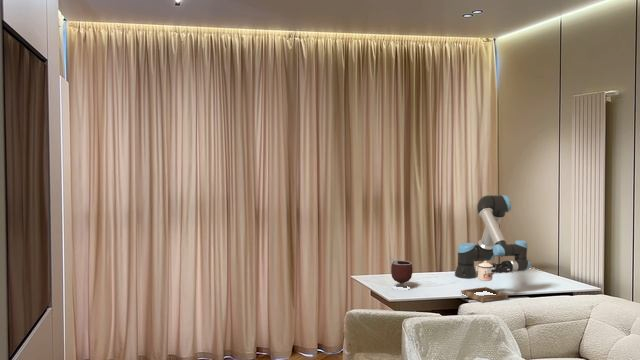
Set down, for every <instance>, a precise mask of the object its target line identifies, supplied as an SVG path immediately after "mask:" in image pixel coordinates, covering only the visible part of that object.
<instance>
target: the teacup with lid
mask: <svg viewBox="0 0 640 360" xmlns="http://www.w3.org/2000/svg"><path fill="white" fill-rule="evenodd" d="M491 264H492V263H489V262H488V261H482V262H481V263H478V264H477V266H478V270H477V280H479V281H484V282H490V281H493V275H494V274H495V273H486V269H490V268H494V267H493V265H491Z"/></svg>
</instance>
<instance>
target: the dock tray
mask: <svg viewBox="0 0 640 360" xmlns="http://www.w3.org/2000/svg"><path fill="white" fill-rule="evenodd" d="M483 291H487V292H490V293H493V294H496V295H484V296H479V295H476V294H474V293H476V292H483ZM461 293H462V294H464V295H466V296H468V297H467V298H468V299H471V300H474V301H476V302H479V303H481V304H483V303H484V304H485V303H492V302H493V303H494V302H497V301H499V302H500V301H507V300H509V294H508V293H505V292H502V291H499V290H496V289H492V288H490V287H487V286H484V287H476V288H468V289H461V291H460V294H461Z"/></svg>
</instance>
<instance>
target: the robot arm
mask: <svg viewBox="0 0 640 360" xmlns="http://www.w3.org/2000/svg"><path fill="white" fill-rule="evenodd" d="M511 210H512V202H511V199H510V197H509V196H507V195H502V194H499V195H497V194H495V195H484V196H482V197H481V198H479V200H478V202H477V205H476V211H477V214H478V216H479V217H480V218H481V219H482V222H483V223H484V225H485V226H484V227H485V228H484V229H483V233H482V236H481V238H480V239H479V240H478V242H477V244H475V243H473V242H465V243H460V244H459V245H458V246H457V266H456V269H455V271H454V276H455V277H456V278H461V279H475V278H477V271H478V265H476V266H475V262H484V261H487V262H489V261H493V260H494V258H496V257H501V258H502V257H514V259H507V260H503V261H501V263H495V262H494V263H493V262H491V263H490V264H491V265H493V267H494V268H490V269H486V273H494V274H495V273H496V274H503V273H506V274H507V273H512V274H513V273H514V272H524V271H528V270H529V269H530V268H531V266H532V265H531V261H530V260H529V259H528V242H527V241H526V240H521V239H520V240H519V239H517V240H515V241H514V243H513V244H512V243H511V244H509V243H507V242H506V239H505V238H504V235H503V232H502V231H501V229H500V223H501V221H502V218H505V216H506V213H509V212H510V211H511Z"/></svg>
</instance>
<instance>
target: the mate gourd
mask: <svg viewBox="0 0 640 360" xmlns="http://www.w3.org/2000/svg"><path fill="white" fill-rule="evenodd" d="M390 259H392V261H391V267H390V272H391V273H390V275H391V278H392V280H394V282H397V283H398V284H396V285H397V286H396V287H403V288H407V286H408V285H406V286H404V285H405V284H404V283H408V282H409V281H410V280H411V279H412V278H413V277H412V276H413V264H412V262H411V261H408V260H397V259H396V258H394V257H393V256H390Z"/></svg>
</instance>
